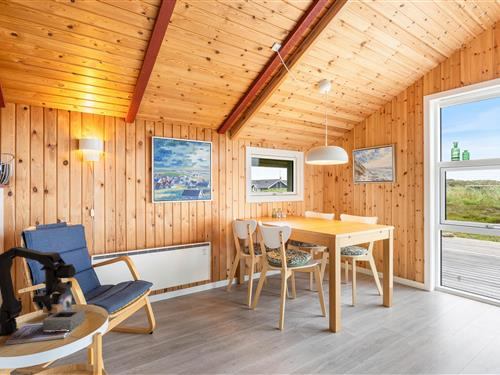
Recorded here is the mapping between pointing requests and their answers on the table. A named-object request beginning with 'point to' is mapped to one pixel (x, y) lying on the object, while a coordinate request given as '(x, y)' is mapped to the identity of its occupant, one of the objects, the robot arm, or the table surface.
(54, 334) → the table surface
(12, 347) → the table surface
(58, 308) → the tan rectangular block
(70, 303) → the small box
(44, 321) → the grey slotted block
